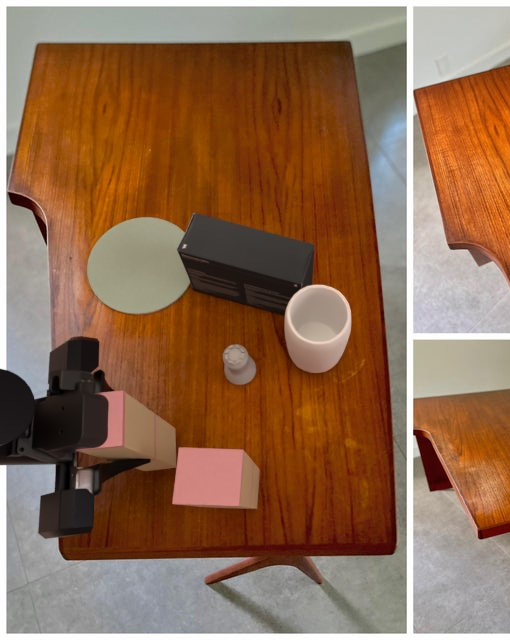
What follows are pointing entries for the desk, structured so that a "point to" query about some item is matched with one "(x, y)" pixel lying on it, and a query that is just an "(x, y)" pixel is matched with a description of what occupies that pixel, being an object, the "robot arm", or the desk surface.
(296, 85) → the desk surface
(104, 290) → the plate
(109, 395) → the pink-topped tan pillar
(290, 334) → the cup
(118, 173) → the desk surface
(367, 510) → the desk surface
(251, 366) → the rook chess piece
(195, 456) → the tall pink tan block
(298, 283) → the box
